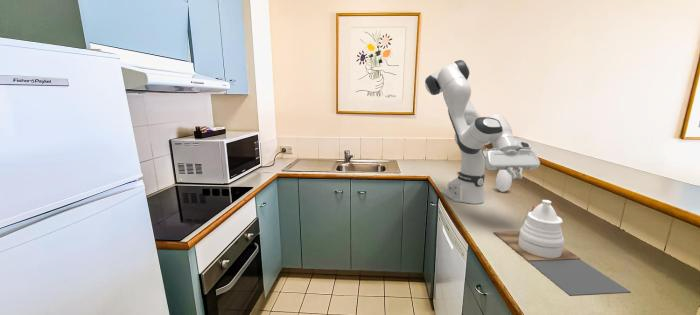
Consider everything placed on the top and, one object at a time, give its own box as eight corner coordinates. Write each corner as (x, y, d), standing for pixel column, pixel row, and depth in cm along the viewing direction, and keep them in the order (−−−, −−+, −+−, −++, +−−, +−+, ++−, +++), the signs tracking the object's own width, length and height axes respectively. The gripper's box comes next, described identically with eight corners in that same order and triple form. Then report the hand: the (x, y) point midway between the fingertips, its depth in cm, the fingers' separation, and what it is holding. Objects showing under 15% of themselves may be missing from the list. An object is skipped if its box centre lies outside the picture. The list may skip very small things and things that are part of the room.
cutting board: (493, 233, 112) (493, 231, 112) (536, 231, 113) (536, 230, 113) (528, 262, 92) (528, 260, 92) (580, 259, 94) (580, 258, 94)
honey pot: (563, 262, 91) (572, 209, 87) (517, 250, 98) (523, 201, 94) (560, 245, 102) (568, 197, 98) (519, 236, 108) (525, 191, 105)
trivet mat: (528, 262, 92) (528, 261, 92) (580, 259, 94) (580, 259, 94) (569, 295, 77) (569, 295, 77) (630, 292, 78) (630, 291, 78)
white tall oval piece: (498, 188, 167) (501, 158, 163) (512, 191, 161) (516, 160, 157) (492, 191, 162) (495, 160, 158) (506, 194, 156) (510, 162, 152)
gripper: (484, 144, 113) (494, 174, 105) (534, 144, 113) (548, 174, 106) (478, 153, 118) (487, 182, 110) (526, 152, 118) (539, 182, 111)
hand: (517, 178), depth 108 cm, fingers closed
